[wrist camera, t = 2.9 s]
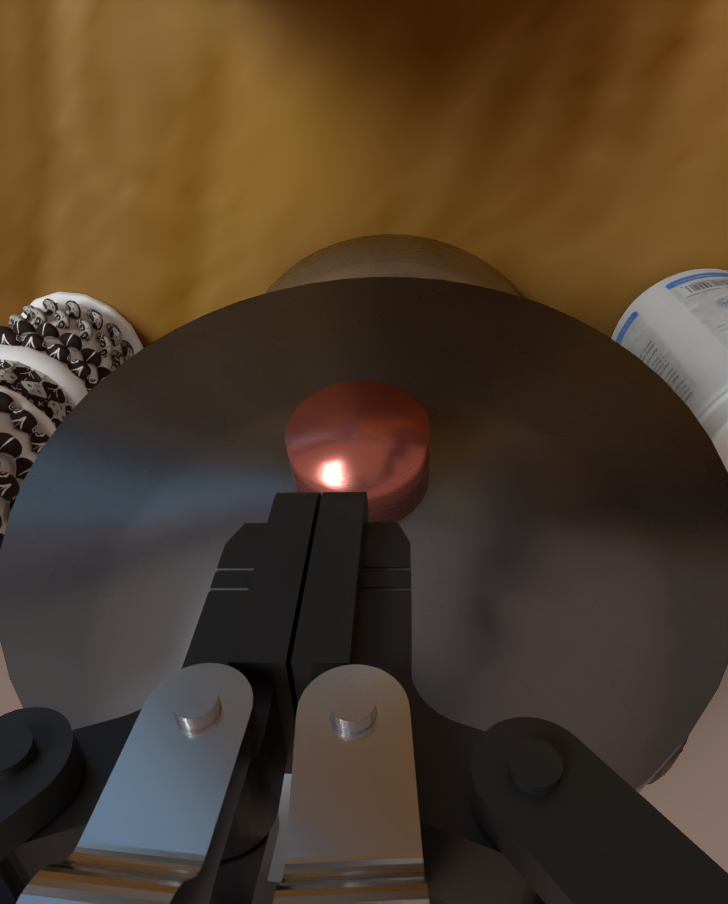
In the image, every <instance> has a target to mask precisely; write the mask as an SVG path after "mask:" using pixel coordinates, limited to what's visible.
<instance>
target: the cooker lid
mask: <svg viewBox="0 0 728 904" xmlns="http://www.w3.org/2000/svg"><path fill="white" fill-rule="evenodd" d="M298 492H320V493H321V495H322V493H323V492H367V499H368V513H369V522H398V523H399V525H400V527H401V528H402V530H403V532H404V533H405V535H406V536H407V538H408V540H409V541H410V547H411V596H412V680H413V683H414V686H415V688H416V690H417V692H418V693H419V695H420V696H421V697H422V699H423V700H424V701H425V702H426V703H427V704H428V705H429V706H430V707H431V708H432V709H434V710H435V711H436V712H438V713H439V714H441V715H443V716H444V717H446V718H448V719H451V720H453V721H456V722H458V723H461V724H464V725H467V726H471V727H474V728H477V729H480V730H483V731H486V730H488V729H489V728H490V727H491V726H493V725H495V724H496V723H498V722H501V721H503V720H506V719H510V718H515V717H534V718H540V719H544V720H547V721H550V722H553V723H555V724H557V725H559V726H561V727H563V728H565V729H566V730H568V731H569V732H571V733H572V734H573V735H574V736H576V737H577V738H578V739H579V740H580V741H581V742H582V743H584V744H585V745H586V746H587V747H588V748H589V749H590V750H591V751H592V752H594V753H595V754H596V755H597V756H598V757H599V758H600V759H601V760H602V761H604V762H605V763H606V764H607V765H608V766H609V767H610V768H611V769H612V770H614V771H615V772H616V773H617V774H618V775H619V776H620V777H621V778H622V779H624V780H625V781H626V782H627V783H628V784H629V785H630V786H631V787H632V788H633V789H635V790H636V791H637V792H638V793H639V792H640V791H641V790H642V789H643V788H644V787H645V785H646V784H647V783H648V782H649V781H650V780H651V779H652V778H653V777H654V776H655V774H656V773H657V772H658V771H659V770H660V769H661V768H662V767H663V766H664V764H665V763H666V762H667V761H668V760H669V759H670V758H671V757H672V756H673V754H674V753H675V752H676V751H677V749H678V748H679V747H680V746H681V744H682V743H683V742H684V740H685V739H686V738H687V736H688V735H689V734H690V732H691V731H692V729H693V727H694V726H695V724H696V723H697V721H698V719H699V718H700V716H701V715H702V713H703V711H704V710H705V708H706V707H707V705H708V703H709V702H710V700H711V699H712V697H713V695H714V694H715V692H716V691H717V689H718V687H719V685H720V682H721V680H722V677H723V674H724V672H725V669H726V667H727V664H728V472H727V470H726V468H725V466H724V464H723V462H722V460H721V458H720V456H719V454H718V452H717V450H716V448H715V446H714V444H713V442H712V440H711V438H710V437H709V435H708V434H707V432H706V431H705V430H704V428H703V427H702V425H701V424H700V422H699V421H698V420H697V418H696V417H695V415H694V414H693V412H692V411H691V410H690V408H689V407H688V406H687V405H686V403H685V402H684V401H683V400H682V399H681V398H680V397H679V396H678V395H677V394H676V393H675V391H674V390H673V389H672V388H671V387H670V386H669V385H668V384H667V383H666V382H665V381H664V379H662V378H661V377H660V376H659V375H658V374H657V373H655V372H654V371H653V370H652V369H651V368H650V367H648V366H647V365H646V364H645V363H644V362H643V361H642V360H640V359H639V358H638V357H637V356H636V355H634V354H633V353H631V352H630V351H628V350H627V349H626V348H624V347H623V346H621V345H620V344H618V343H617V342H615V341H614V340H612V339H611V338H609V337H608V336H607V335H605V334H603V333H601V332H599V331H598V330H596V329H594V328H592V327H590V326H588V325H587V324H585V323H583V322H581V321H579V320H577V319H576V318H574V317H571V316H569V315H567V314H564V313H562V312H560V311H557V310H555V309H553V308H550V307H548V306H546V305H543V304H541V303H538V302H535V301H532V300H528V299H525V298H522V297H519V296H516V295H513V294H510V293H506V292H502V291H498V290H494V289H490V288H486V287H481V286H477V285H472V284H465V283H459V282H453V281H446V280H438V279H426V278H413V277H365V278H351V279H338V280H331V281H324V282H317V283H310V284H304V285H300V286H295V287H291V288H286V289H282V290H277V291H273V292H269V293H266V294H262V295H259V296H256V297H253V298H249V299H246V300H243V301H239V302H237V303H234V304H232V305H229V306H226V307H224V308H221V309H219V310H216V311H213V312H211V313H208V314H206V315H204V316H202V317H200V318H198V319H196V320H194V321H191V322H189V323H187V324H185V325H183V326H181V327H179V328H177V329H175V330H173V331H172V332H170V333H168V334H167V335H165V336H163V337H161V338H160V339H158V340H156V341H155V342H153V343H151V344H150V345H148V346H146V347H145V348H143V349H142V350H141V351H139V352H138V353H136V354H135V355H134V356H132V357H131V358H129V359H128V360H127V361H125V362H124V363H122V364H121V365H120V366H118V367H117V368H116V369H114V370H113V371H112V372H111V373H110V374H109V375H108V376H106V377H105V378H104V379H103V380H102V381H101V382H100V383H98V384H97V385H96V386H95V387H94V388H93V389H92V390H90V391H89V392H88V393H87V394H86V396H85V397H84V398H83V399H82V400H81V401H80V402H79V403H78V404H77V405H76V406H75V407H74V408H73V409H72V410H71V412H70V413H69V414H68V415H67V416H66V417H65V418H64V419H63V421H62V422H61V423H60V425H59V426H58V427H57V429H56V430H55V431H54V433H53V434H52V435H51V437H50V438H49V439H48V441H47V442H46V443H45V445H44V446H43V447H42V449H41V451H40V453H39V454H38V456H37V458H36V460H35V461H34V463H33V465H32V467H31V468H30V470H29V472H28V474H27V475H26V477H25V479H24V481H23V483H22V486H21V488H20V491H19V493H18V495H17V498H16V500H15V503H14V505H13V507H12V510H11V512H10V515H9V518H8V522H7V526H6V530H5V534H4V538H3V542H2V546H1V550H0V642H1V645H2V649H3V653H4V657H5V661H6V665H7V669H8V673H9V677H10V680H11V682H12V684H13V687H14V689H15V691H16V693H17V695H18V697H19V700H20V702H21V704H22V706H23V708H29V707H46V708H50V709H54V710H56V711H58V712H60V713H61V714H62V715H63V716H65V717H66V718H67V720H68V721H69V723H70V725H71V727H72V729H73V730H74V729H78V728H82V727H85V726H89V725H93V724H96V723H100V722H104V721H108V720H111V719H115V718H119V717H122V716H125V715H128V714H131V713H133V712H135V711H137V710H140V709H142V707H143V705H144V703H145V701H146V700H147V698H148V696H149V695H150V693H151V692H152V691H153V690H154V688H155V687H156V686H157V685H158V684H159V683H160V682H161V681H163V680H164V679H165V678H167V677H168V676H169V675H171V674H173V673H175V672H176V671H178V670H181V668H182V666H183V663H184V660H185V657H186V655H187V652H188V649H189V646H190V643H191V640H192V637H193V635H194V632H195V629H196V626H197V623H198V620H199V617H200V615H201V612H202V609H203V606H204V603H205V600H206V597H207V595H208V592H210V586H211V583H212V580H213V577H214V575H215V572H217V566H218V563H219V560H220V557H221V555H222V552H223V549H224V546H225V543H226V542H227V541H228V540H229V539H230V538H231V537H232V536H233V535H234V534H235V533H236V532H237V531H238V530H239V529H240V528H241V527H242V526H243V524H244V523H267V521H268V518H269V514H270V511H271V507H272V504H273V500H274V497H275V495H276V493H298ZM291 777H292V774H284V780H283V786H282V792H281V798H280V804H279V810H278V814H279V832H278V837H277V841H276V845H275V850H274V854H273V858H272V862H271V867H270V871H269V875H268V879H267V884H266V888H265V892H264V896H263V901H262V904H273V898H274V893H275V890H276V887H277V885H278V883H280V882H281V881H282V878H283V873H284V866H285V855H286V842H287V829H288V816H289V803H290V790H291ZM429 904H448V903H445V902H443V901H441V900H438V899H436V898H434V897H431V896H429Z"/></svg>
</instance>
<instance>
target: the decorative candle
mask: <svg viewBox="0 0 728 904" xmlns="http://www.w3.org/2000/svg"><path fill="white" fill-rule="evenodd" d="M9 325H10V326H11V327H12V328H13V330H12V329H11V328H9V327H5V326H0V550H1V546H2V542H3V538H4V534H5V530H6V526H7V522H8V518H9V515H10V512H11V510H12V507H13V505H14V503H15V500H16V498H17V495H18V493H19V491H20V488H21V486H22V483H23V481H24V479H25V477H26V475H27V474H28V472H29V470H30V468H31V467H32V465H33V463H34V461H35V460H36V458H37V456H38V454H39V453H40V451H41V449H42V447H43V446H44V445H45V443H46V442H47V441H48V439H49V438H50V437H51V435H52V434H53V433H54V431H55V430H56V429H57V427H58V426H59V425H60V423H61V422H62V421H63V419H64V418H65V417H66V416H67V415H68V414H69V413H70V412H71V410H72V409H73V408H74V407H75V406H76V405H77V404H78V403H79V402H80V401H81V400H82V399H83V398H84V397H85V396H86V394H87V393H88V392H89V391H90V390H92V389H93V388H94V387H95V386H96V385H97V384H98V383H100V382H101V381H102V380H103V379H104V378H105V377H106V376H108V375H109V374H110V373H111V372H112V371H113V370H114V369H116V368H117V367H118V366H120V365H121V364H122V363H124V362H125V361H127V360H128V359H129V358H131V357H132V356H134V355H135V354H136V353H138V352H139V351H141V350H142V349H143V348H144V347H143V345H142V343H141V341H140V340H139V338H138V336H137V334H136V332H135V330H134V328H133V326H132V325H131V324H130V323H129V322H128V321H127V320H126V319H125V318H124V317H123V316H121V315H120V314H119V313H118V312H117V311H116V310H115V309H114V308H113V307H112V306H110V305H108V304H106V303H104V302H102V301H100V300H97V299H95V298H93V297H91V296H89V295H87V294H81V293H70V292H60V291H59V292H56V293H53V294H50V295H47V296H44V297H41V298H38V299H35V300H34V301H33V302H32V303H31V304H30V305H25V306H24V307H23V313H22V314H21V315H19V314H13V315H11V316H10V320H9Z"/></svg>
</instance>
